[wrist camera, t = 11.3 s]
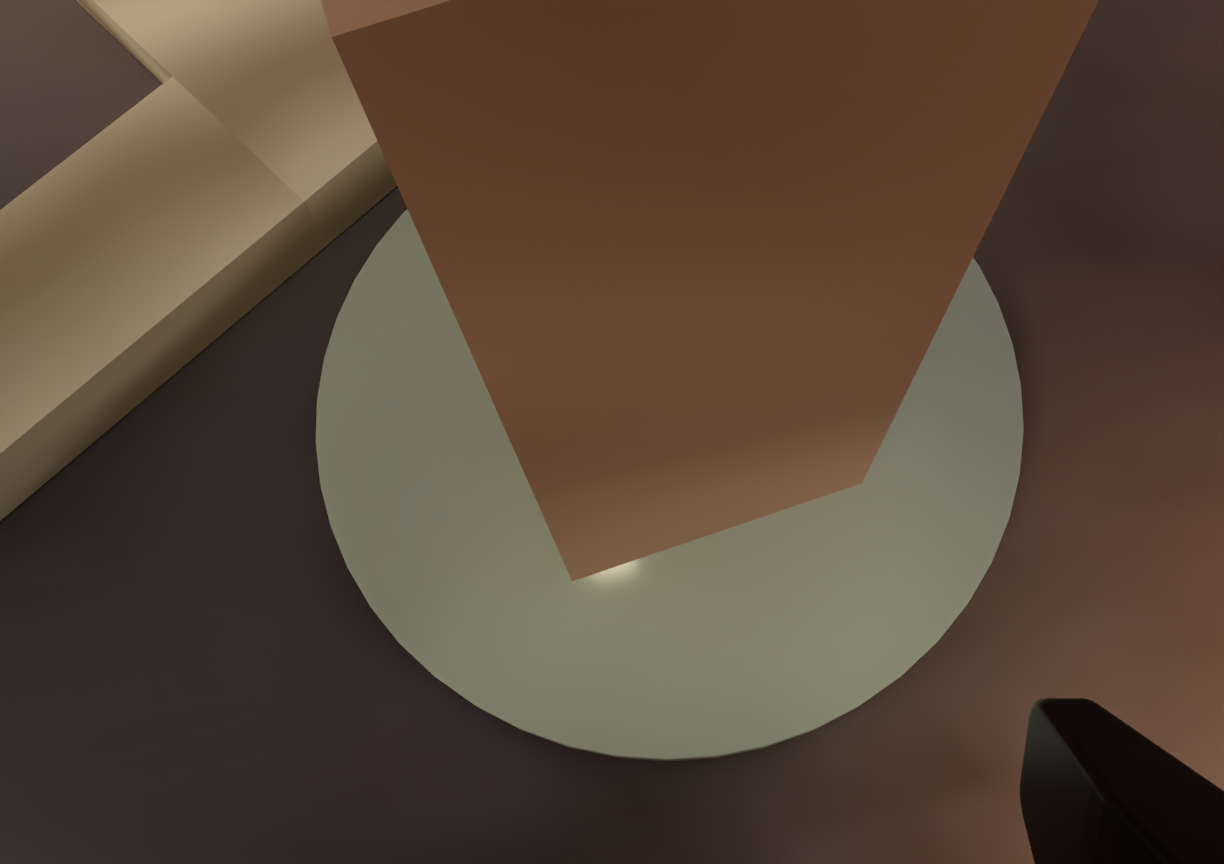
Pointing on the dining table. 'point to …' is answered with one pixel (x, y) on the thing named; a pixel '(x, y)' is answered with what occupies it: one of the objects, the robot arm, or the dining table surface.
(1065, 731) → the robot arm
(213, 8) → the puzzle board
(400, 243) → the dish
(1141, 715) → the dining table surface
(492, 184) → the block
